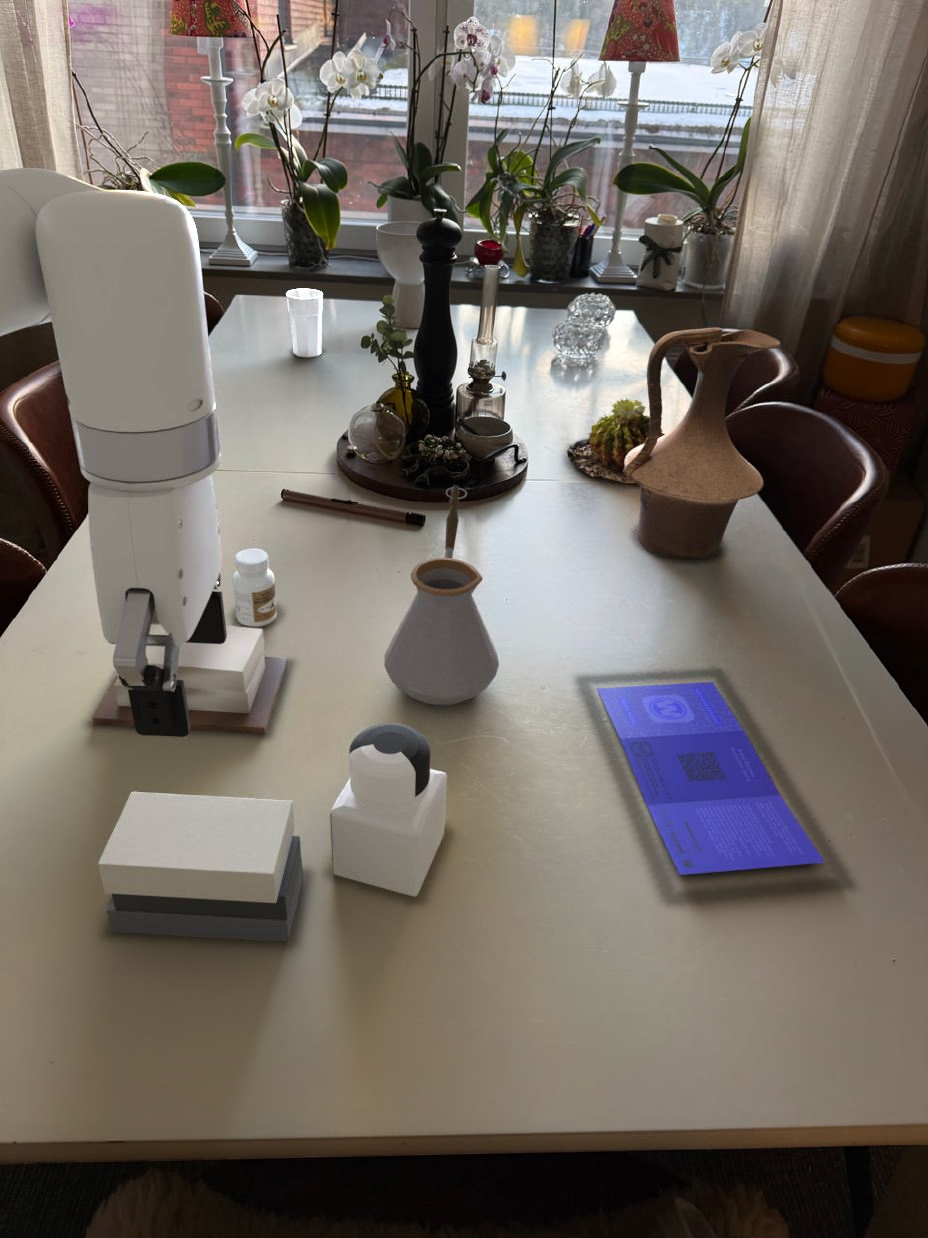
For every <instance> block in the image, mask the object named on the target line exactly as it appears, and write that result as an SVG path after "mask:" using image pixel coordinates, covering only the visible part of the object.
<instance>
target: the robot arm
mask: <svg viewBox="0 0 928 1238" xmlns="http://www.w3.org/2000/svg"><path fill="white" fill-rule="evenodd" d="M199 244H200V243H199V237H198V231H197V228H196V224H195V222H194V219H193V217H192V215H191V214H190V212H189V210H188V209H187V208H186V207H185V206H184V205H182V203H180V202H179V201H178V200H176V199H174V198H171V197H168V196H166V195H163V194H160V193H154V192H149V191H141V190H126V189H104V188H101V187H98V186H96V185H93V184H90V183H87V182H84V181H82V180H80V179H78V178H75V177H72V176H70V175H67V174H65V173H62V172H59V171H55V170H50V169H47V168H40V167H17V168H16V167H15V168H9V169H4V170H2V169H1V170H0V337H3V336H4V335H8V334H10V333H13V332H16V331H17V332H18V331H20V330H22V329H25V328H31V327H36V326H40V325H44V324H47V323H51V324H52V329H53V335H54V339H55V345H56V349H57V355H58V359H59V365H60V371H61V375H62V380H63V386H64V391H65V395H66V401H67V406H68V411H69V415H70V417H69V418H70V421H71V426H72V431H73V437H74V441H75V447H76V452H77V457H78V462H79V467H80V473H81V475H82V476H83V477H84V479H86V480H87V481H88V482H90V483H89V485H88V491H87V494H88V495H87V496H88V497H87V502H88V503H87V505H88V507H87V508H88V511H87V512H88V533H89V544H90V554H91V563H92V570H93V578H94V586H95V593H96V601H97V606H98V613H99V617H100V618H99V620H100V625H101V630H102V635H103V638H104V639H105V641H106V642H107V643H108V644H109V645H115V646H114V651H113V655H112V665H113V668H114V669H115V671H117V672H118V674H119V679H120V680H121V683H122V685H124V688H125V689H126V690H128V694H129V699H130V704H131V709H132V715H133V720H134V725H135V727H134V729H135V732H136V734H138V735H140V736H148V737H151V736H152V737H168V738H169V737H173V738H187V737H188V736H189V734H190V731H191V730H190V729H191V726H190V719H189V713H188V706H187V699H186V692H185V686H184V680H177V675H178V663H179V650H180V646H181V645H182V644H184V643H206V644H222V643H224V642H225V640H226V637H227V632H226V626H227V625H226V624H227V623H226V616H225V615H226V614H225V606H224V599H223V591H219V590H220V589H221V585H222V575H221V572H220V571H221V567H222V542H221V533H220V532H221V531H220V524H219V516H218V507H217V501H216V494H215V490H214V483H213V477H212V474H213V473H215V472H216V471H217V469H219V466H220V465H221V464H222V463H221V462H222V454H221V446H220V436H219V426H218V418H217V408H216V407H217V406H216V398H215V387H214V379H213V377H214V376H213V369H212V358H211V357H212V356H211V350H210V339H209V331H208V320H207V309H206V301H205V291H204V282H203V271H202V263H201V251H200V245H199ZM216 590H218V591H216ZM151 624H157V625H162V627H163V628H164V630H165V631H166V633H169V635H151V634H149V632H150V627H151ZM146 646H159V647H165V652H164V664H163V669H161V668H159V667H157V666H155V665H148V659H147V657H146ZM117 672H116V673H117Z"/></svg>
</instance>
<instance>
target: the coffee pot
mask: <svg viewBox="0 0 928 1238" xmlns="http://www.w3.org/2000/svg"><path fill="white" fill-rule="evenodd" d="M448 491H451V492H450V495H449V494H448ZM460 491H462V492H464V493H465V494H464V495H463V496H461V497H460ZM445 495H446V496H447V498H450V499H449V500H448V502H447V503H448V506H449V509H448V513H447V517H446V520H445V542H444V545H445V546H444V550H445V552H444V557H435V558H429V559H425V560H423V561H421V562H419V563H417V564H416V565H415V566H414V567H413V569H412V570H411V572H410V579H411V582H412V583H413V585H414V586H415V587H416V590H417V592H416V593H415V596H414V597H413V598H412V600H411V602H410V605H409V606H408V608H407V610H406V612H405V614H404V616H403V618H402V620H401V621H400V624H399V625H398V627H397V628H396V631H395V633H394V635H393V637H392V638H391V640H390V642H389V644H388V646H387V649H386V651H385V653H384V658H383V659H384V662H383V663H384V668H385V671H386V673H387V675H388V677H389V679H390V680H391V682H392V683H393V684H394V685H395V686H396V687H397V689H398V690H400V691H401V692H402V693H404V694H406V695H408V697H411V698H413V699H415V700H417V701H419V702H422V703H425V704H428V705H432V706H433V705H434V706H451V705H457V704H459V703H462V702H465V701H468V700H470V699H472V698H475V697H476V696H478V695H479V694H481V693H482V692H483V691H485V690H487V688H488V687H489V685H490V684H491V683H492V682H493V680H494V679H495V677H496V676H497V673H498V669H499V666H500V661H499V656H498V652H497V649H496V648H495V647H496V646H495V645H494V643H493V640H492V638H491V635H490V634H489V631H488V628H487V627H486V624H485V622H484V619H483V618H482V615H481V612H480V610H479V608H478V605H477V604H476V601H475V598H474V597H473V593H474V591H475V590H476V589H477V587H478V586H479V584H481V582H482V581H483V576H482V575H481V574H480V571H478V570H477V568H476V567H474V566H473V565H472V564H470V563H468V562H466V561H464V560H461V559H457V558H453V557H454V550H455V545H456V538H457V533H458V527H459V526H458V525H459V510H458V509H459V507H460V505H461V502H460V500H463V499H465V498H466V497H467V496H468V492H467V490H466V489H465V488H462V487H459V485H457V484H454V485H453V486H452V487H448V488H447V489H446V490H445Z"/></svg>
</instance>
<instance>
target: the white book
mask: <svg viewBox="0 0 928 1238" xmlns="http://www.w3.org/2000/svg"><path fill="white" fill-rule="evenodd" d="M293 804H294V803H293V801H292V800H282V799H262V798H248V797H246V798H245V797H231V796H230V797H229V796H215V795H214V796H213V795H195V794H176V793H161V792H160V793H159V792H141V791H131V792H130V794H129V796H128V798H127V801H126V802H125V804H124V807H123V809H122V811H121V813H120V815H119V818H118V820H117V822H116V824H115V826H114V828H113V831H112V832H111V834H110V837H109V839H108V841H107V843H106V845H105V848H104V850H103V852H102V854H101V856H100V859H99V860H98V863H97V867H98V871H99V874H100V879H101V882H102V886H103V887H102V888H103V891H104V894H109V895H112V894H128V895H145V896H162V897H179V898H197V899H214V900H231V901H248V902H266V903H276V902H277V898H278V894H279V890H280V886H281V882H282V878H283V874H284V870H285V866H286V862H287V858H288V854H289V849H290V845H291V841H292V837H293V836H294V833H295V815H294V805H293Z"/></svg>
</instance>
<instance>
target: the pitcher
mask: <svg viewBox="0 0 928 1238" xmlns="http://www.w3.org/2000/svg"><path fill="white" fill-rule="evenodd" d="M679 346H684V347H685V349H686V351H687V352H688V355H689V357H690V360H691V361H692V363H693V364H694V366H696V367H697V369H698V371H697V372H698V373H697V380H696V384H695V388H694V392H693V395H692V398H691V401H690V404H689V406H688V409H687V411H686V413H685V415H684V416H683V418H682V419H681V420H680V422H679V423H678V424H677V425H676V426H675V427H674V428H673V429H671V430H670V431H669V432H667V433H665V435H664V436H662V437H660V438H658V437H659V433H660V429H662V419H663V416H662V415H663V398H662V395H663V394H662V386H661V385H662V384H661V382H662V381H661V380H662V379H661V377H662V367H663V361H664V359H665V357H666V355H667V354H668V353H669V352H670V351H671V350H672V349H675V348H676V347H679ZM780 348H781V341H780V340H779V339H777V338H775V337H772V336H771V335H768V334H766V333H763V332H759V331H756V330H752V329H740V330H735V331H731V332H727V333H724V334H723V328H721V327H707V328H695V329H684V330H677V331H672V332H669V333H667V334H665V335H663V336H662V337H661V338H659V340H657V342H655V344H654V345H653V346H652V349H651V351H650V353H649V355H648V360H647V366H646V386H647V397H648V404H649V405H648V409H649V417H650V424H649V432H648V437H647V439H646V441H645V444H643V445H640V446H638V447H636V448H634V449H632V450H631V451H630V452H629V453H628V454H627V456H626V457H625V460H624V466H625V468H624V470H623V472H624V474H625V476H626V477H628V478H629V479H631V480H633V481H635V482H636V483H635V484H638V486H639V516H638V517H639V518H638V525H637V526H638V527H637V533H636V535H637V539H638V541H639V543H640V544H641V545H642V546H643V547H644V548H645V549H646V550H648V551H649V552H651V553H653V554H655V555H658V556H661V557H662V558H663V557H664V558H666V559H670V560H677V561H686V562H695V561H702V560H703V561H704V560H708V559H710V558H713V557H714V556H716V555H717V554H718V553H719V551H720V549H721V545H722V541H723V538H724V536H725V533H726V529H727V527H728V524H729V522H730V519H731V516H732V514H733V512H734V510H735V508H736V506H737V504H738V502H739V500H745V499H747V498H750V497H753V496H755V495H757V494H758V493H760V492H761V491H762V489H763V487H764V480H763V477H762V475H761V473H760V472H759V470H757V469H756V468H755V467H754V466H753V464H751V463H750V462H748V460H747V459H745V458H744V457H743V455H742V454H741V453H740V452H739V450H737V448H736V447H735V446H734V443H733V442H732V440H731V438H730V435H729V432H728V429H727V423H726V405H727V400H728V394H729V390H730V387H731V385H732V382H733V379H734V376H735V375H736V373H737V371H738V369H739V367H740V366H741V364H742V363H743V362H744V361H746V360H747V358H749V357H750V356H752V355H753V353H758V352H759V351H764V350H774V349H780Z"/></svg>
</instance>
